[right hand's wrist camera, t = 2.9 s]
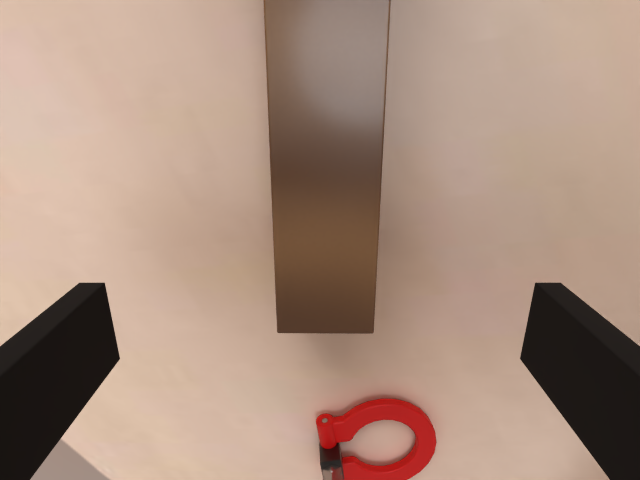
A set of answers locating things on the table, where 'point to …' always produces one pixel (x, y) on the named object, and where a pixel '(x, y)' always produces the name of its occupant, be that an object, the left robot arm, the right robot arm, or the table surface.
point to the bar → (326, 158)
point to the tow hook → (348, 472)
